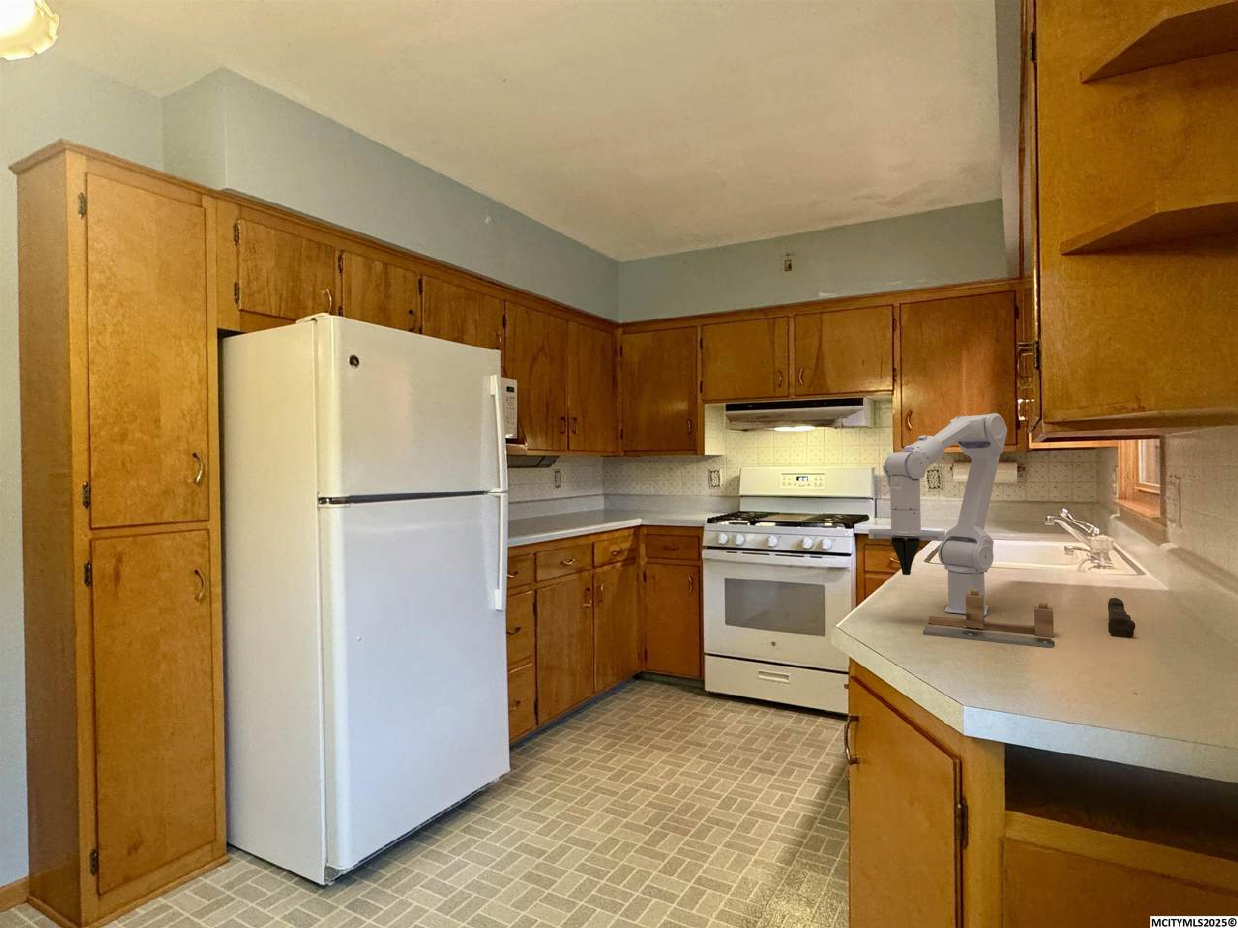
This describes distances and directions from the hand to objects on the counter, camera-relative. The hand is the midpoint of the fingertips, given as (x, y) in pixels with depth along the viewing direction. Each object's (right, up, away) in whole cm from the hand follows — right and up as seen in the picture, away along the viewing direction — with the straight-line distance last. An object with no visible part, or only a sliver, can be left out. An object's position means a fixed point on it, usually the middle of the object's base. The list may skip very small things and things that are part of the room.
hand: (906, 574), depth 138 cm
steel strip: (+9, -10, -13) cm, 19 cm away
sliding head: (+11, -9, -6) cm, 16 cm away
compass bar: (+13, -10, -7) cm, 18 cm away
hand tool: (+38, -10, -7) cm, 40 cm away
